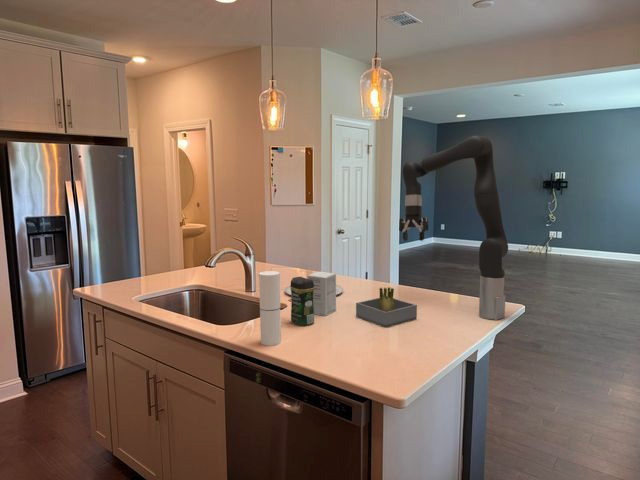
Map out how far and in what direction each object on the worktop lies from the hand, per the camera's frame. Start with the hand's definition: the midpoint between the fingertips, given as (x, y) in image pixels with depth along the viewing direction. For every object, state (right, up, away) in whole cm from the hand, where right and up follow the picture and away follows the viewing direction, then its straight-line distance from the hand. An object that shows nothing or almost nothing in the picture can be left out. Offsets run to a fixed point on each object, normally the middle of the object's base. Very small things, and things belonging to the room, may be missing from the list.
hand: (413, 240), depth 204 cm
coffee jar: (-50, -33, -25) cm, 65 cm away
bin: (-15, -32, -19) cm, 41 cm away
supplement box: (-42, -31, -10) cm, 53 cm away
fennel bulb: (-15, -31, -19) cm, 40 cm away
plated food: (-46, -27, +24) cm, 58 cm away
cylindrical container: (-60, -36, -46) cm, 84 cm away
